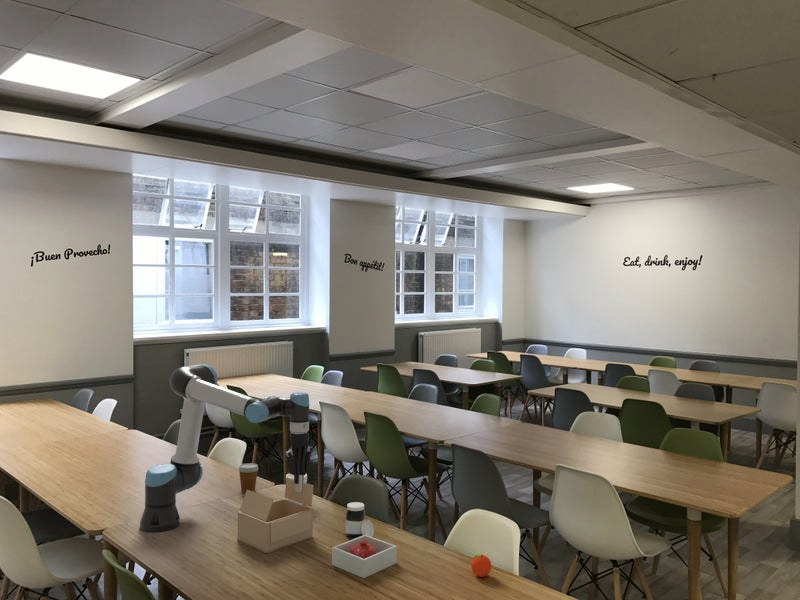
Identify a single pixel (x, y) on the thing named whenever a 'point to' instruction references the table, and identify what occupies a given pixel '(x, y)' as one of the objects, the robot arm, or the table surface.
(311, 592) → the table surface
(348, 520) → the spread jar
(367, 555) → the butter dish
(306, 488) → the flap far
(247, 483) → the disposable coffee cup
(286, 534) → the carton
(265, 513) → the flap near
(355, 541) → the dish caddy
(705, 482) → the table surface
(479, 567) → the clementine
